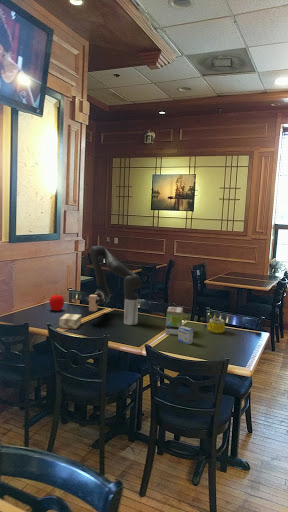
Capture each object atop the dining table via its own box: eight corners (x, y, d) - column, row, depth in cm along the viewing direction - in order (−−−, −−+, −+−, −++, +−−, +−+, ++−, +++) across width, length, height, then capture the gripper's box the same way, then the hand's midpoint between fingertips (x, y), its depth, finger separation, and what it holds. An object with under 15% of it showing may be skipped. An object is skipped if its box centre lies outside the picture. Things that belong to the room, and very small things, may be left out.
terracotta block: (97, 309, 248) (97, 295, 247) (95, 311, 244) (95, 296, 243) (90, 309, 249) (90, 294, 248) (88, 310, 244) (89, 296, 243)
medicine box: (177, 341, 218) (178, 326, 217) (182, 339, 221) (183, 325, 220) (188, 344, 212) (188, 330, 212) (192, 343, 215) (193, 328, 215)
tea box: (180, 335, 230) (182, 312, 229) (164, 333, 232) (166, 310, 230) (182, 328, 245) (183, 307, 244) (167, 327, 246) (168, 305, 245)
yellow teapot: (218, 328, 248) (219, 311, 247) (227, 333, 238) (229, 315, 237) (202, 330, 243) (203, 312, 242) (210, 335, 233) (212, 316, 232)
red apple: (64, 312, 277) (65, 295, 276) (50, 312, 273) (50, 295, 272) (62, 308, 287) (62, 292, 286) (48, 309, 283) (48, 292, 282)
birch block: (81, 323, 247) (81, 314, 247) (75, 328, 234) (76, 319, 234) (65, 322, 248) (65, 313, 248) (59, 327, 235) (59, 318, 235)
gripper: (88, 291, 260) (81, 296, 243) (107, 292, 259) (102, 297, 242) (87, 302, 261) (81, 307, 244) (107, 303, 259) (102, 308, 242)
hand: (92, 302), depth 243 cm, fingers closed on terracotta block, 4 cm apart
